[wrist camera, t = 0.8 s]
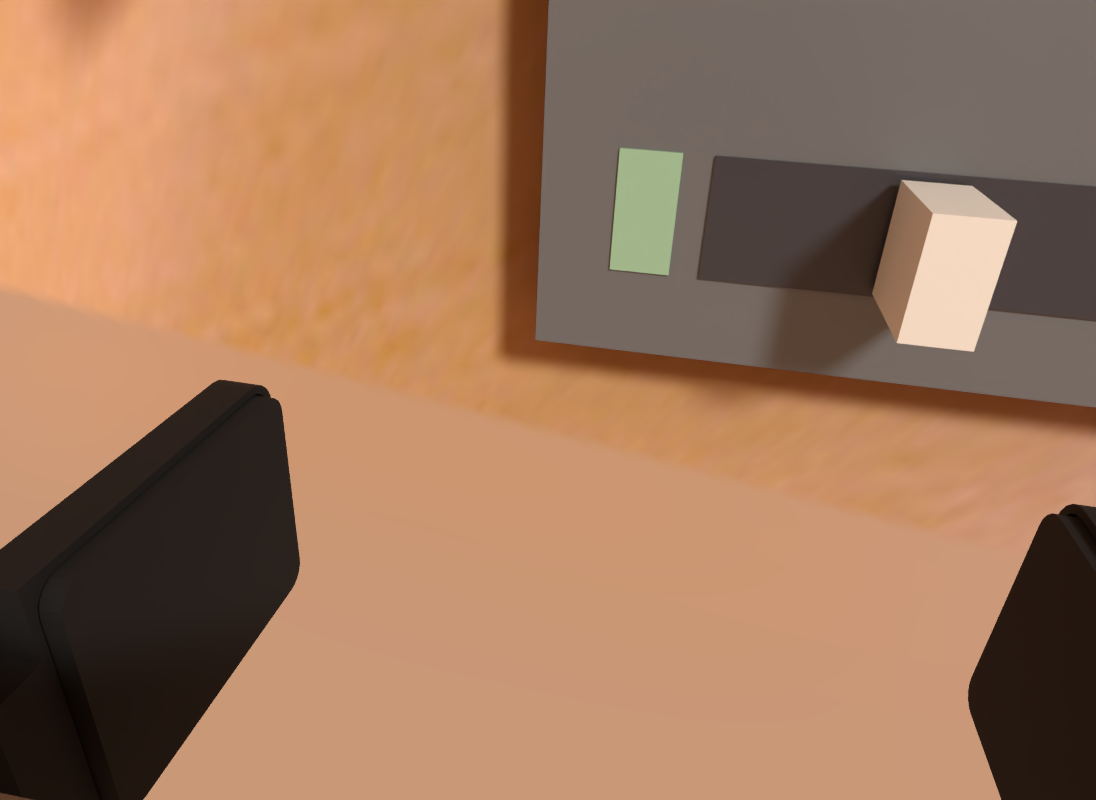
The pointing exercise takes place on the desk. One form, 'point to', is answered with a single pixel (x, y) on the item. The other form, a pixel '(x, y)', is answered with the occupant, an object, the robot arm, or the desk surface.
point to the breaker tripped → (941, 264)
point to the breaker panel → (816, 180)
